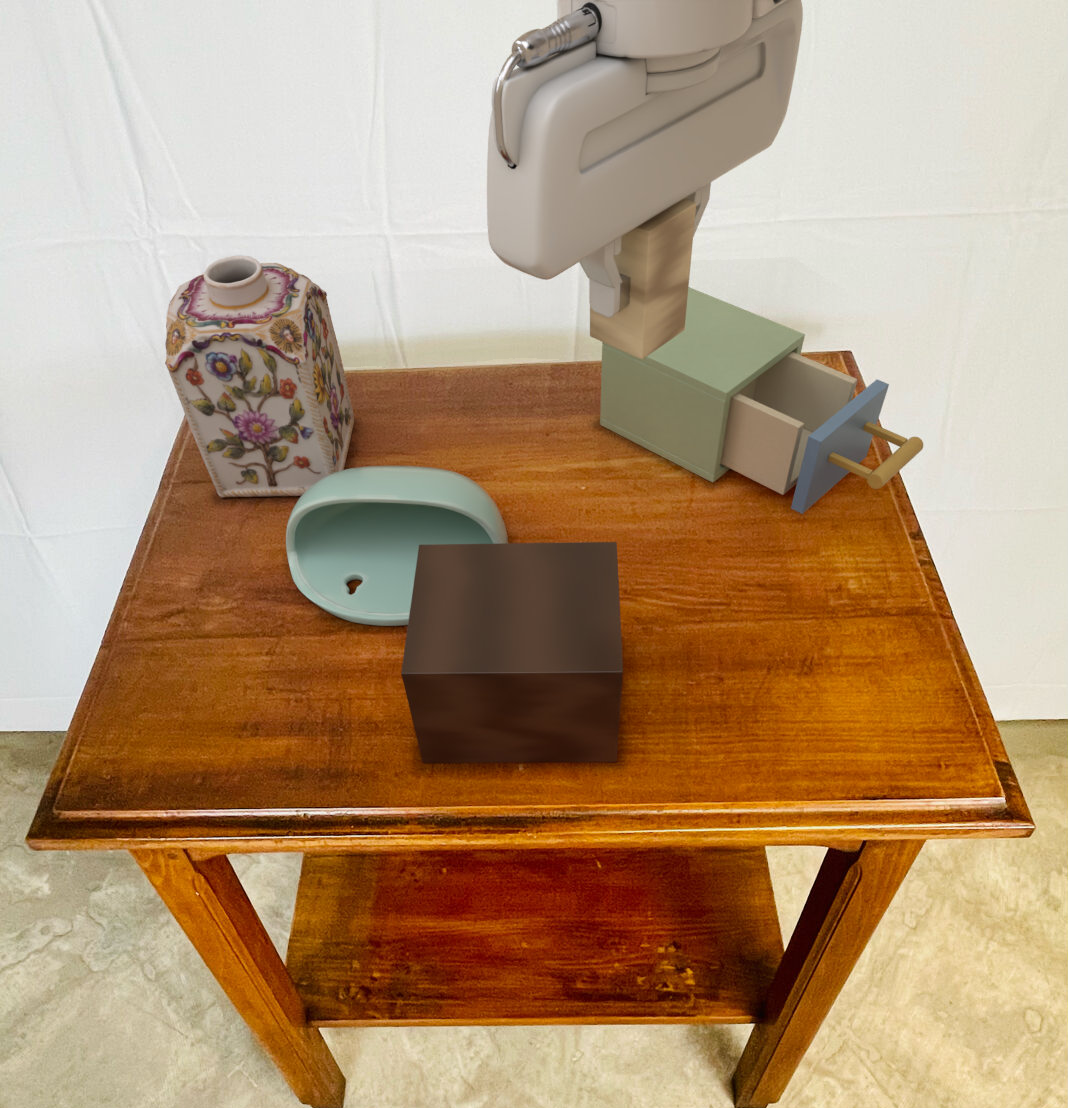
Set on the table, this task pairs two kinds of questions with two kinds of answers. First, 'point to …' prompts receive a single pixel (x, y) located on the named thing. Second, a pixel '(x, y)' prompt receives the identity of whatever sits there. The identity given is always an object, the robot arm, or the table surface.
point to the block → (652, 283)
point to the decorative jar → (259, 377)
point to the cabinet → (691, 382)
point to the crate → (515, 653)
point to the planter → (381, 535)
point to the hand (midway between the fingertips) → (640, 289)
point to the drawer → (808, 430)
